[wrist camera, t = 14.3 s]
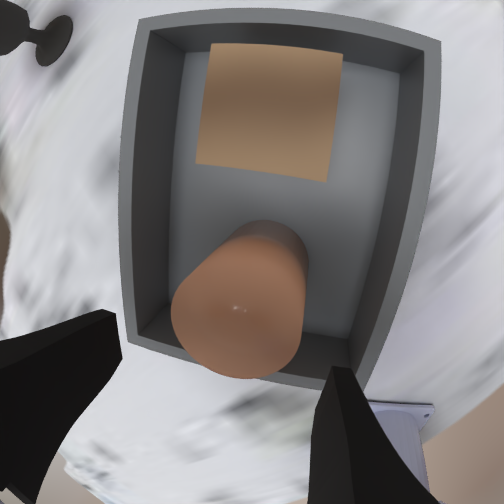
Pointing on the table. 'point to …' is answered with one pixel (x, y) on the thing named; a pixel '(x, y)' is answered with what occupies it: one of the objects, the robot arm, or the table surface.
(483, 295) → the table surface
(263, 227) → the terracotta cylinder
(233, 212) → the tote
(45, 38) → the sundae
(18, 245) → the table surface
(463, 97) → the table surface
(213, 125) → the walnut cube
